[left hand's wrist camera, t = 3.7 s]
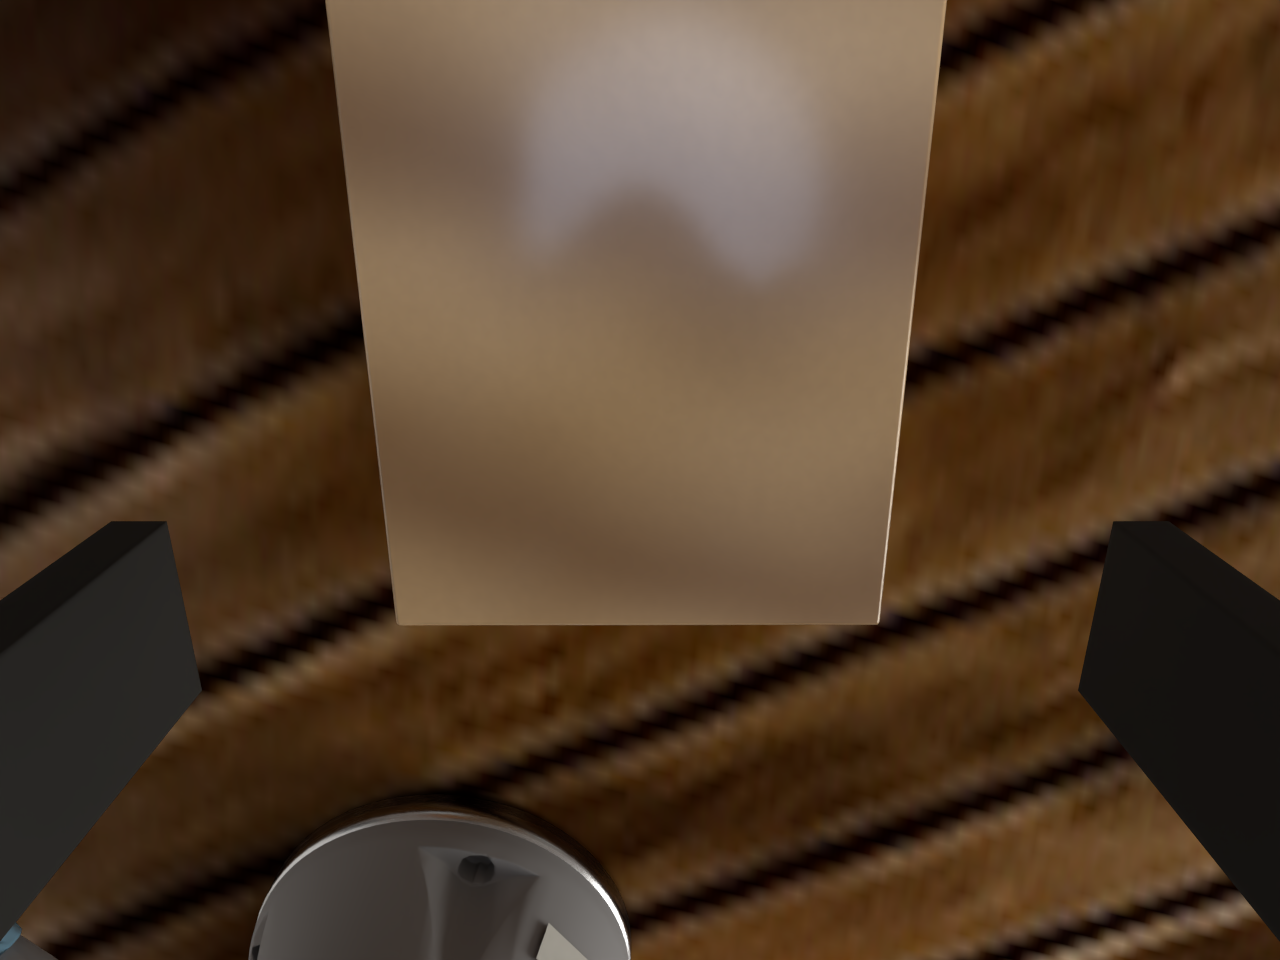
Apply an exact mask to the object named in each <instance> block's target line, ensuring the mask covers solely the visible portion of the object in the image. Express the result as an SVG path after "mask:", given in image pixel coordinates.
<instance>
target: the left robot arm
mask: <svg viewBox="0 0 1280 960" xmlns="http://www.w3.org/2000/svg"><path fill="white" fill-rule="evenodd" d="M201 691H202V689H201V684H200V679H199V674H198V670H197V665H196V660H195V655H194V650H193V646H192V641H191V636H190V631H189V626H188V622H187V617H186V612H185V607H184V602H183V598H182V593H181V588H180V583H179V579H178V574H177V569H176V564H175V559H174V555H173V550H172V545H171V540H170V535H169V531H168V526H167V521H111V522H110V523H108V524H107V525H106V526H104V527H103V528H101V529H100V530H99V531H97V532H96V533H94V534H93V535H92V536H90V537H89V538H87V539H86V540H85V541H83V542H82V543H80V544H79V545H78V546H76V547H75V548H73V549H72V550H71V551H69V552H68V553H66V554H65V555H64V556H62V557H61V558H59V559H58V560H57V561H55V562H54V563H52V564H51V565H50V566H48V567H47V568H45V569H44V570H43V571H41V572H40V573H38V574H37V575H35V576H34V577H33V578H31V579H30V580H28V581H27V582H26V583H24V584H23V585H21V586H20V587H19V588H17V589H16V590H14V591H13V592H12V593H10V594H9V595H7V596H6V597H5V598H3V599H2V600H0V960H58V959H56V958H55V957H53V956H52V955H50V954H49V953H47V952H46V951H44V950H43V949H41V948H40V947H38V946H37V945H35V944H34V943H32V942H31V941H29V940H28V939H26V938H24V937H23V936H21V935H20V934H21V931H22V928H21V927H20V926H19V925H18V924H17V923H16V921H17V920H18V919H19V917H20V916H21V915H22V914H23V912H24V911H25V910H26V909H27V908H28V906H29V905H30V904H31V903H32V901H33V900H34V899H35V898H36V896H37V895H38V894H39V893H40V891H41V890H42V889H43V888H44V886H45V885H46V884H47V883H48V881H49V880H50V879H51V878H52V876H53V875H54V874H55V873H56V871H57V870H58V869H59V868H60V866H61V865H62V864H63V863H64V861H65V860H66V859H67V858H68V856H69V855H70V854H71V853H72V851H73V850H74V849H75V848H76V846H77V845H78V844H79V843H80V842H81V840H82V839H83V838H84V837H85V835H86V834H87V833H88V832H89V830H90V829H91V828H92V827H93V825H94V824H95V823H96V822H97V820H98V819H99V818H100V817H101V815H102V814H103V813H104V812H105V810H106V809H107V808H108V807H109V805H110V804H111V803H112V802H113V800H114V799H115V798H116V797H117V795H118V794H119V793H120V792H121V790H122V789H123V788H124V787H125V785H126V784H127V783H128V782H129V780H130V779H131V778H132V777H133V775H134V774H135V773H136V772H137V771H138V769H139V768H140V767H141V766H142V764H143V763H144V762H145V761H146V759H147V758H148V757H149V756H150V754H151V753H152V752H153V751H154V749H155V748H156V747H157V746H158V744H159V743H160V742H161V741H162V739H163V738H164V737H165V736H166V734H167V733H168V732H169V731H170V729H171V728H172V727H173V726H174V724H175V723H176V722H177V721H178V719H179V718H180V717H181V716H182V714H183V713H184V712H185V711H186V709H187V708H188V707H189V706H190V704H191V703H192V702H193V701H194V700H195V698H196V697H197V696H198V695H199V693H200V692H201ZM1078 691H1079V692H1080V693H1081V695H1082V696H1083V697H1084V698H1085V700H1086V701H1087V702H1088V703H1089V704H1090V706H1091V707H1092V708H1093V709H1094V711H1095V712H1096V713H1097V714H1098V716H1099V717H1100V718H1101V719H1102V721H1103V722H1104V723H1105V724H1106V726H1107V727H1108V728H1109V729H1110V731H1111V732H1112V733H1113V734H1114V736H1115V737H1116V738H1117V739H1118V741H1119V742H1120V743H1121V744H1122V746H1123V747H1124V748H1125V749H1126V751H1127V752H1128V753H1129V754H1130V756H1131V757H1132V758H1133V759H1134V761H1135V762H1136V763H1137V764H1138V766H1139V767H1140V768H1141V769H1142V771H1143V772H1144V773H1145V774H1146V775H1147V777H1148V778H1149V779H1150V780H1151V782H1152V783H1153V784H1154V785H1155V787H1156V788H1157V789H1158V790H1159V792H1160V793H1161V794H1162V795H1163V797H1164V798H1165V799H1166V800H1167V802H1168V803H1169V804H1170V805H1171V807H1172V808H1173V809H1174V810H1175V812H1176V813H1177V814H1178V815H1179V817H1180V818H1181V819H1182V820H1183V822H1184V823H1185V824H1186V825H1187V827H1188V828H1189V829H1190V830H1191V832H1192V833H1193V834H1194V835H1195V837H1196V838H1197V839H1198V840H1199V842H1200V843H1201V844H1202V845H1203V846H1204V848H1205V849H1206V850H1207V851H1208V853H1209V854H1210V855H1211V856H1212V858H1213V859H1214V860H1215V861H1216V863H1217V864H1218V865H1219V866H1220V868H1221V869H1222V870H1223V871H1224V873H1225V874H1226V875H1227V876H1228V878H1229V879H1230V880H1231V881H1232V883H1233V884H1234V885H1235V886H1236V888H1237V889H1238V890H1239V891H1240V893H1241V894H1242V895H1243V896H1244V898H1245V899H1246V900H1247V901H1248V903H1249V904H1250V905H1251V906H1252V908H1253V909H1254V910H1255V911H1256V912H1257V914H1258V915H1259V916H1260V917H1261V919H1262V920H1263V921H1264V922H1265V924H1266V925H1267V926H1268V927H1269V929H1270V930H1271V931H1272V932H1273V934H1274V935H1275V936H1276V937H1277V939H1278V940H1279V941H1280V600H1278V599H1277V598H1275V597H1274V596H1273V595H1271V594H1270V593H1268V592H1267V591H1266V590H1264V589H1263V588H1261V587H1260V586H1259V585H1257V584H1256V583H1254V582H1253V581H1252V580H1250V579H1249V578H1247V577H1246V576H1244V575H1243V574H1242V573H1240V572H1239V571H1237V570H1236V569H1235V568H1233V567H1232V566H1230V565H1229V564H1228V563H1226V562H1225V561H1223V560H1222V559H1221V558H1219V557H1218V556H1216V555H1215V554H1214V553H1212V552H1211V551H1209V550H1208V549H1207V548H1205V547H1204V546H1202V545H1201V544H1200V543H1198V542H1197V541H1195V540H1194V539H1193V538H1191V537H1190V536H1188V535H1187V534H1186V533H1184V532H1183V531H1181V530H1180V529H1179V528H1177V527H1176V526H1174V525H1173V524H1172V523H1170V522H1169V521H1113V526H1112V531H1111V535H1110V540H1109V545H1108V550H1107V555H1106V559H1105V564H1104V569H1103V574H1102V579H1101V583H1100V588H1099V593H1098V598H1097V602H1096V607H1095V612H1094V617H1093V622H1092V626H1091V631H1090V636H1089V641H1088V646H1087V650H1086V655H1085V660H1084V665H1083V670H1082V674H1081V679H1080V684H1079V689H1078ZM249 960H631V931H630V924H629V919H628V914H627V911H626V908H625V905H624V902H623V900H622V898H621V895H620V893H619V891H618V889H617V887H616V886H615V884H614V882H613V881H612V879H611V877H610V876H609V874H608V873H607V872H606V871H605V869H604V868H603V867H602V865H601V864H600V863H599V862H598V861H597V860H596V859H595V858H594V857H593V856H592V855H591V854H590V852H589V851H587V850H586V849H585V848H584V847H583V846H582V845H580V844H579V843H578V842H577V841H576V840H574V839H573V838H571V837H570V836H569V835H567V834H566V833H564V832H563V831H562V830H560V829H558V828H557V827H555V826H553V825H551V824H550V823H548V822H546V821H544V820H542V819H540V818H538V817H536V816H534V815H532V814H529V813H527V812H524V811H522V810H519V809H516V808H514V807H511V806H507V805H504V804H500V803H497V802H493V801H488V800H484V799H479V798H473V797H465V796H458V795H439V794H432V795H413V796H404V797H397V798H391V799H386V800H381V801H378V802H374V803H371V804H367V805H364V806H361V807H359V808H356V809H353V810H351V811H348V812H346V813H344V814H342V815H340V816H338V817H336V818H334V819H332V820H330V821H329V822H327V823H326V824H324V825H322V826H321V827H319V828H318V829H317V830H315V831H314V832H313V833H311V834H310V835H309V836H308V837H306V838H305V839H304V840H303V841H302V842H301V843H300V844H299V845H298V846H297V847H296V848H295V849H294V851H293V852H292V853H291V854H290V856H289V857H288V858H287V859H286V861H285V862H284V864H283V866H282V867H281V869H280V871H279V872H278V874H277V876H276V878H275V880H274V882H273V884H272V886H271V888H270V890H269V892H268V894H267V896H266V898H265V900H264V903H263V905H262V907H261V910H260V912H259V916H258V919H257V923H256V926H255V929H254V933H253V936H252V940H251V945H250V951H249Z"/></svg>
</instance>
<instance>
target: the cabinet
mask: <svg viewBox="0 0 1280 960" xmlns="http://www.w3.org/2000/svg"><path fill="white" fill-rule="evenodd" d="M325 2H326V10H327V19H328V28H329V37H330V45H331V54H332V63H333V72H334V80H335V89H336V98H337V107H338V115H339V124H340V133H341V142H342V150H343V159H344V168H345V177H346V185H347V194H348V203H349V212H350V220H351V229H352V238H353V247H354V255H355V264H356V273H357V282H358V291H359V299H360V308H361V317H362V326H363V334H364V343H365V352H366V361H367V369H368V378H369V387H370V396H371V404H372V413H373V422H374V431H375V439H376V448H377V457H378V466H379V474H380V483H381V492H382V501H383V509H384V518H385V527H386V536H387V544H388V553H389V562H390V571H391V579H392V588H393V597H394V606H395V614H396V622H397V624H398V625H876V624H878V623H879V621H880V612H881V603H882V594H883V584H884V575H885V566H886V557H887V548H888V538H889V529H890V520H891V511H892V501H893V492H894V483H895V474H896V464H897V455H898V446H899V437H900V427H901V418H902V409H903V400H904V390H905V381H906V372H907V363H908V353H909V344H910V335H911V326H912V316H913V307H914V298H915V289H916V280H917V270H918V261H919V252H920V243H921V233H922V224H923V215H924V206H925V196H926V187H927V178H928V169H929V159H930V150H931V141H932V132H933V122H934V113H935V104H936V95H937V85H938V76H939V67H940V58H941V48H942V39H943V30H944V21H945V12H946V2H947V0H325Z"/></svg>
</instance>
